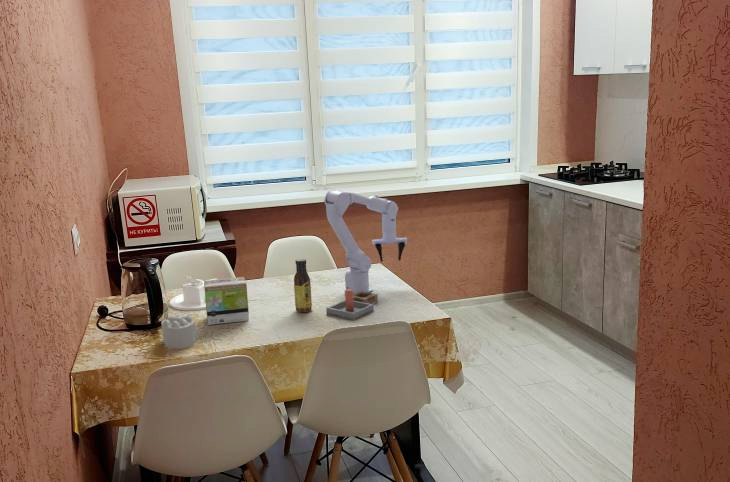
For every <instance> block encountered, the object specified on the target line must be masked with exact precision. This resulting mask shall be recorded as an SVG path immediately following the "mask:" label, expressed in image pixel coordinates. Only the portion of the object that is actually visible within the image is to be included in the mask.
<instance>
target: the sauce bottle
mask: <svg viewBox="0 0 730 482" xmlns="http://www.w3.org/2000/svg"><path fill="white" fill-rule="evenodd" d="M294 261H295V265H296V266H295V268H296V269H295V271H296V272H295V274H294V277H293V282H294V283H293V289H294V304H295V305H294V306H295V311H296V312H297V313H308V312H310V311H312V307H313V306H312V305H313V303H312V285H311V278H310V276H309V273H308V270H307V259H306V258H297V259H295V260H294Z"/></svg>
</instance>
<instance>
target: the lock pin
mask: <svg viewBox="0 0 730 482" xmlns="http://www.w3.org/2000/svg"><path fill="white" fill-rule="evenodd" d="M353 294H354V293H353V290H352V289H347V290H346V289H344V297H345V298H344V300H345V302H346V311H348V312H353V311H354V301H353Z"/></svg>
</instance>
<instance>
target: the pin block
mask: <svg viewBox="0 0 730 482" xmlns="http://www.w3.org/2000/svg"><path fill="white" fill-rule="evenodd" d="M353 301H358V302H363V303H368V304H373V305H374V304H375V303H378V301H379V300H378V294H377V293H374V292H363V291H360V292H358V293H356V294H354V293H353Z"/></svg>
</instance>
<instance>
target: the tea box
mask: <svg viewBox="0 0 730 482" xmlns="http://www.w3.org/2000/svg"><path fill="white" fill-rule="evenodd" d="M203 281H204V288H205V300H206V309H205V310H206V319H207V325H208V326H212V325H218V324H229V323H239V322H240V323H241V322H248V321H250V315H249V300H248V299H249V298H248V284H247V281H246V279H245V276H241V277H239V276H238V277H231V278H229V277H228V278H220V279H219V278H217V280H210V279H207V281H205V280H203Z"/></svg>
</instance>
